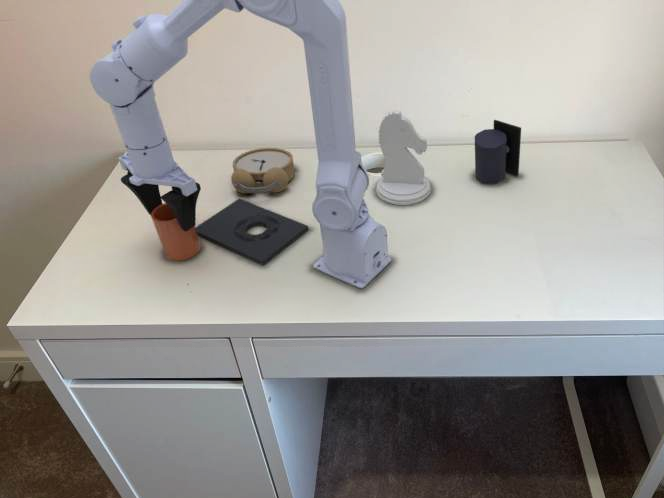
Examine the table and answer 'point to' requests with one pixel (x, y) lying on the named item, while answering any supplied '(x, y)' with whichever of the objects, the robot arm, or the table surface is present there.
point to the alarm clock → (262, 170)
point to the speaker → (497, 152)
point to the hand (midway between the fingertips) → (172, 220)
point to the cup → (174, 235)
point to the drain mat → (240, 217)
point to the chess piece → (401, 162)
